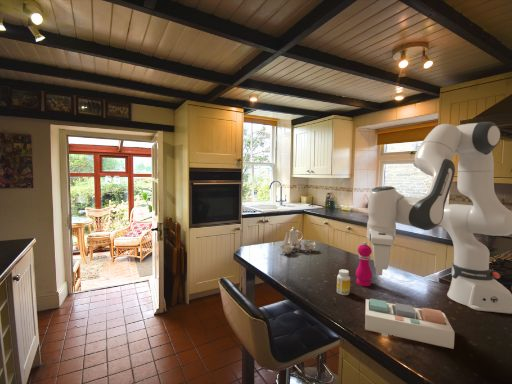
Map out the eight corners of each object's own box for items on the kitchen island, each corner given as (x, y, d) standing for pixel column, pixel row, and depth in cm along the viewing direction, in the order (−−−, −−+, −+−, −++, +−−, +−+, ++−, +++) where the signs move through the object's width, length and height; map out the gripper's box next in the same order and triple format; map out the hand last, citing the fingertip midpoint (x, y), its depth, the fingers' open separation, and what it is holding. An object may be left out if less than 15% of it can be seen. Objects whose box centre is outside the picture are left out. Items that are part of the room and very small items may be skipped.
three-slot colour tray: (442, 327, 88) (443, 312, 87) (453, 348, 77) (454, 331, 76) (365, 312, 97) (365, 298, 97) (365, 329, 86) (365, 314, 86)
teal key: (385, 309, 92) (386, 301, 92) (386, 316, 87) (387, 308, 87) (369, 306, 94) (370, 298, 94) (370, 313, 89) (370, 304, 89)
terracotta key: (440, 319, 86) (440, 310, 86) (444, 327, 81) (445, 318, 81) (421, 316, 88) (422, 307, 88) (424, 324, 83) (425, 314, 83)
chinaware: (285, 260, 162) (287, 234, 159) (270, 250, 176) (272, 226, 174) (319, 254, 176) (321, 230, 173) (303, 245, 190) (305, 223, 187)
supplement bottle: (334, 292, 113) (335, 270, 113) (340, 288, 117) (340, 267, 117) (346, 296, 110) (347, 274, 109) (351, 292, 114) (352, 270, 113)
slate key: (412, 314, 89) (412, 305, 89) (414, 322, 84) (415, 313, 84) (394, 311, 91) (395, 302, 91) (396, 318, 86) (396, 309, 86)
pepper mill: (373, 287, 119) (375, 244, 118) (356, 286, 120) (358, 243, 119) (369, 281, 126) (371, 240, 125) (354, 279, 127) (355, 239, 126)
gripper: (370, 228, 100) (368, 263, 101) (371, 239, 81) (369, 282, 82) (388, 229, 97) (387, 266, 98) (394, 241, 79) (391, 286, 79)
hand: (379, 273), depth 90 cm, fingers closed
